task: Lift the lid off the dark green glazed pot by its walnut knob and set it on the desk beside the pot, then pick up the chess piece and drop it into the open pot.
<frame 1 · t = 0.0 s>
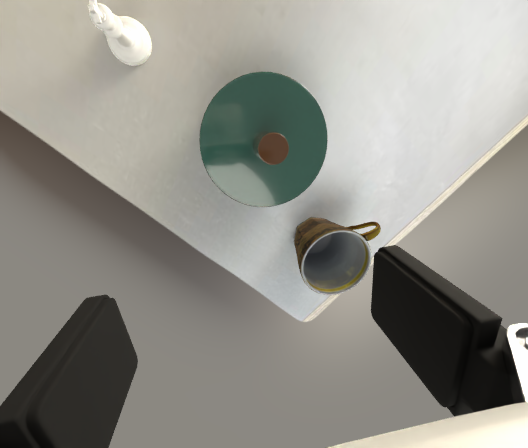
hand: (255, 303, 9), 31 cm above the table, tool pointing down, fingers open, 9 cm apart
lid: (264, 145, 30), point 8 cm above the table, touching pot
ceramic cup: (319, 229, 44), on the table
chess piece: (130, 42, 31), on the table
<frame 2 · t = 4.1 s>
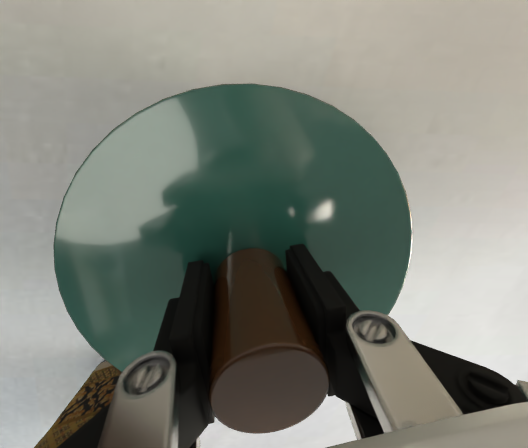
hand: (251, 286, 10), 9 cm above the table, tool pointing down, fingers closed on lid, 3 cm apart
lid: (249, 272, 11), point 8 cm above the table, touching gripper, pot
ceramic cup: (150, 383, 24), on the table
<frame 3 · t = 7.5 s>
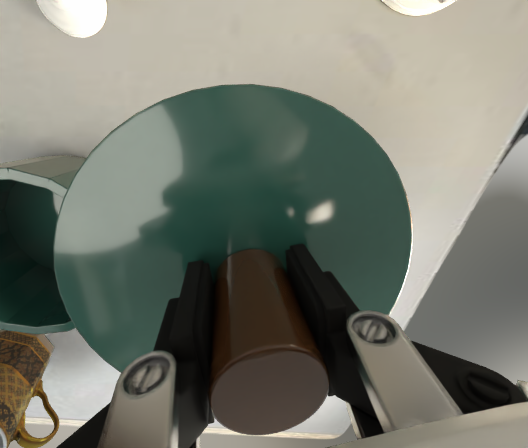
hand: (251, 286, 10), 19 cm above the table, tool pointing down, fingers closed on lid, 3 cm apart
pot: (79, 223, 27), on the table
lid: (249, 272, 11), point 18 cm above the table, touching gripper
ceramic cup: (37, 349, 31), on the table
chess piece: (74, 2, 21), on the table
when the fingers open (2 cm above the table, at t = 11.4 s): lid stays where it is, point 1 cm above the table.
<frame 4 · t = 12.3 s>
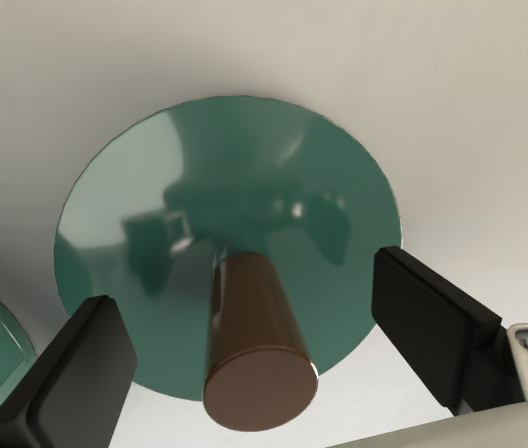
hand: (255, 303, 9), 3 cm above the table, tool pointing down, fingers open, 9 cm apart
lid: (244, 275, 12), point 1 cm above the table
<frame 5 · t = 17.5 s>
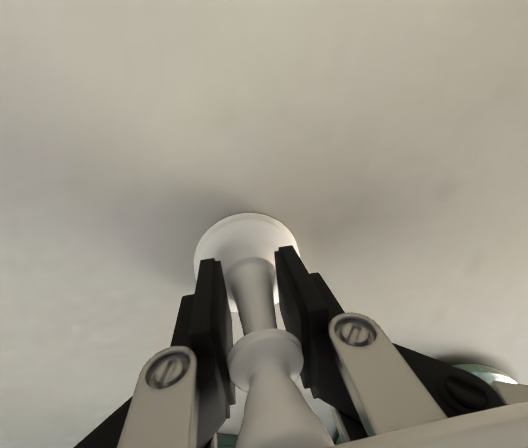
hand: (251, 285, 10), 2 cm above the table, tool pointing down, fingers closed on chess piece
lid: (426, 438, 19), point 1 cm above the table
chess piece: (247, 259, 12), on the table, touching gripper
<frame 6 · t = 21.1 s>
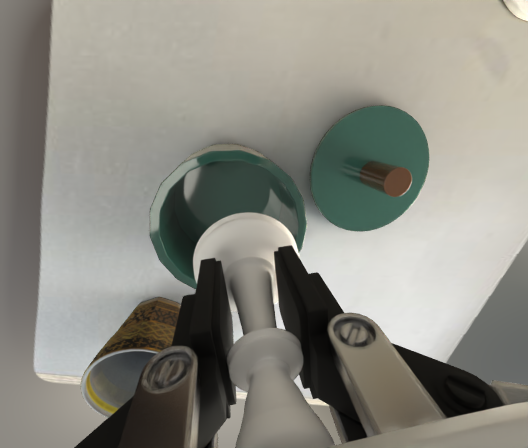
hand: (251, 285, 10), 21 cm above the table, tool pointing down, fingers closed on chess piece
pot: (229, 204, 30), on the table
lid: (368, 172, 31), point 1 cm above the table
ceramic cup: (171, 319, 35), on the table
chess piece: (246, 259, 12), point 18 cm above the table, touching gripper
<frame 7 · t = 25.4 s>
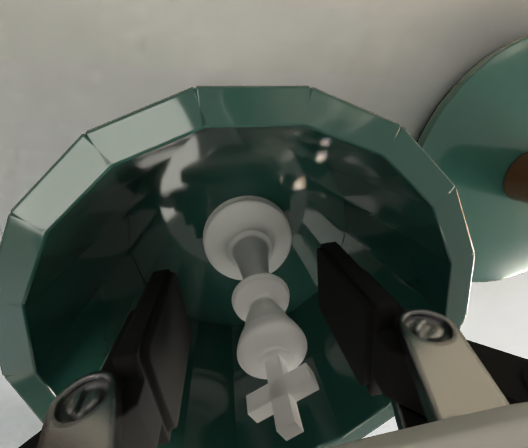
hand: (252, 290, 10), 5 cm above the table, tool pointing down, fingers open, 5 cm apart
pot: (242, 235, 15), on the table
lid: (515, 174, 16), point 1 cm above the table
chess piece: (247, 236, 15), resting on pot
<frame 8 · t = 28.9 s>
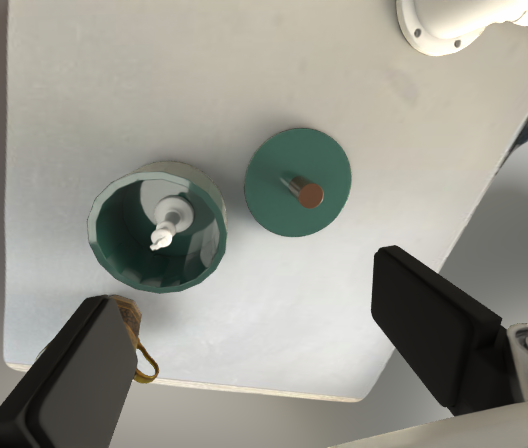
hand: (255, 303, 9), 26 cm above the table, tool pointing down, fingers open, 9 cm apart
pot: (173, 213, 34), on the table
lid: (298, 185, 35), point 1 cm above the table
ceramic cup: (128, 315, 39), on the table
chess piece: (175, 213, 34), resting on pot
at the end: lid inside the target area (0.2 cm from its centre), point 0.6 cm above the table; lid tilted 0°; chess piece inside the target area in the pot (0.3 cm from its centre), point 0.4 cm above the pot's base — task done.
